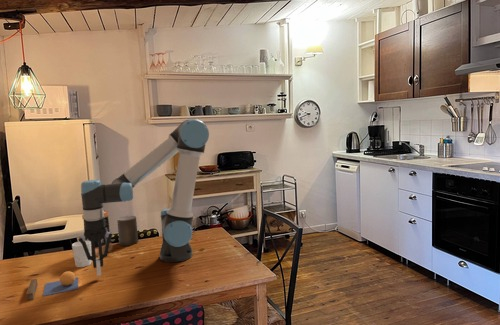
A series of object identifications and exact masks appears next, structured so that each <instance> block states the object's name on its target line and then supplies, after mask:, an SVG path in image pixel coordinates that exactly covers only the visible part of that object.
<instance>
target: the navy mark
mask: <svg viewBox="0 0 500 325" xmlns="http://www.w3.org/2000/svg"><path fill="white" fill-rule="evenodd" d="M78 289H79V277H78V276H77V277H76V276H75V281H74V282H73V283H72V284H71V285H69V286H65V285H62V284H61V282H60V280H56V281H51V282H46V283H45V286H44V289H43V293H42V297H46V296H50V295H56V294H60V293H65V292H67V293H68V292H70V291H76V290H78Z"/></svg>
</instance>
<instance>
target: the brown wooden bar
mask: <svg viewBox="0 0 500 325" xmlns="http://www.w3.org/2000/svg"><path fill="white" fill-rule="evenodd" d="M38 286H39V285H38V278H34V279H32V278H31V279H30V281H29V285H28V289H27V291H26V295H25V296H26V301H31V300H32V301H33V300H34V298H35V295H36V292H37V287H38Z"/></svg>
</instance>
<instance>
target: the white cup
mask: <svg viewBox="0 0 500 325" xmlns="http://www.w3.org/2000/svg"><path fill="white" fill-rule="evenodd" d="M85 242H86V245H87V248H88V250H89V253H90V255H91V241H85ZM71 248H72V254H73V260H74V264H75V267H76V268H84V267H88V266H90V265H91V264H93V261H92V260H88V259H87V256H86V253H85V251H84V248H83V246H82V244H81V243H80V241H79V240H78V241H75V242H74V243H72V244H71ZM91 256H92V255H91Z"/></svg>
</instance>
